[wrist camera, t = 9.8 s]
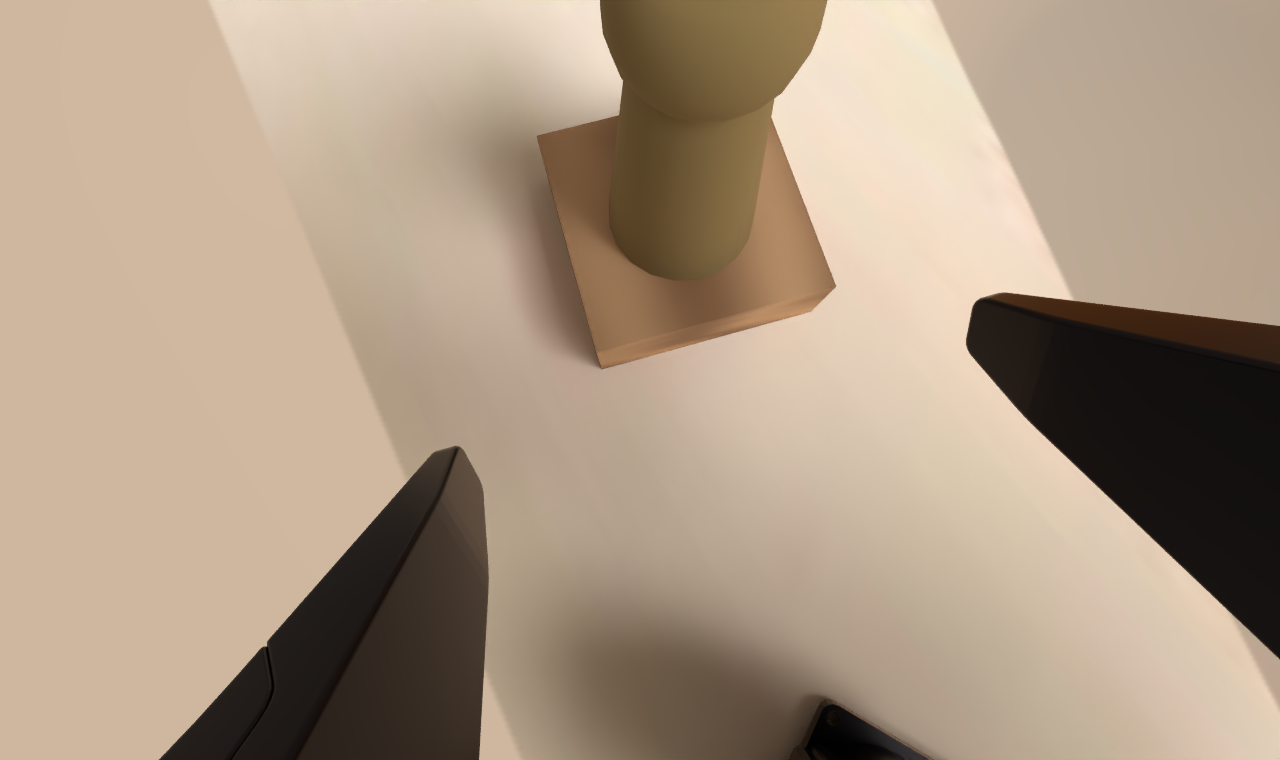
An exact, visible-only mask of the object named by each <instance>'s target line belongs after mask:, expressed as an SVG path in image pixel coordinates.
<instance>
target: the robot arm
mask: <svg viewBox="0 0 1280 760" xmlns="http://www.w3.org/2000/svg"><path fill="white" fill-rule="evenodd" d="M966 346H967V349H968V351H969V353H970V355H971V356H972V357H973V358H974V359H975V361H976V362H977V363H978V364H979V365H980V366H981V367H982V369H983V370H984V371H985V372H986V373H987V374H988V376H989V377H990V378H991V379H992V380H993V381H994V383H995V384H996V385H997V386H998V387H999V388H1000V389H1001V391H1002V392H1003V393H1004V394H1005V395H1006V396H1007V398H1008V399H1009V400H1010V401H1011V402H1012V403H1013V405H1014V406H1015V407H1016V408H1017V409H1018V410H1019V411H1020V412H1021V413H1022V415H1023V416H1024V417H1025V418H1026V419H1027V420H1028V421H1029V422H1030V423H1031V424H1032V425H1033V426H1034V427H1035V428H1036V429H1037V430H1038V431H1039V432H1040V433H1041V434H1043V435H1044V436H1045V437H1046V438H1047V439H1048V440H1049V441H1050V442H1051V443H1052V444H1053V445H1054V446H1055V447H1056V448H1057V449H1058V450H1059V451H1060V452H1062V453H1063V454H1064V455H1065V456H1066V457H1067V458H1068V459H1069V460H1070V461H1071V462H1072V463H1073V464H1074V465H1075V466H1076V467H1077V468H1078V469H1079V470H1080V471H1082V472H1083V473H1084V474H1085V475H1086V476H1087V477H1088V478H1089V479H1090V480H1091V481H1092V482H1093V483H1094V484H1095V485H1096V486H1097V487H1098V488H1099V489H1101V490H1102V491H1103V492H1104V493H1105V494H1106V495H1107V496H1108V497H1109V498H1110V499H1111V500H1112V501H1113V502H1114V503H1115V504H1116V505H1117V506H1118V507H1120V508H1121V509H1122V510H1123V511H1124V512H1125V513H1126V514H1127V515H1128V516H1129V517H1130V518H1131V519H1132V520H1133V521H1134V522H1135V523H1136V524H1137V525H1138V526H1140V527H1141V528H1142V529H1143V530H1144V531H1145V532H1146V533H1147V534H1148V535H1149V536H1150V537H1151V538H1152V539H1153V540H1154V541H1155V542H1156V543H1157V544H1159V545H1160V546H1161V547H1162V548H1163V549H1164V550H1165V551H1166V552H1167V553H1168V554H1169V555H1170V556H1171V557H1172V558H1173V559H1174V560H1175V561H1176V562H1177V563H1179V564H1180V565H1181V566H1182V567H1183V568H1184V569H1185V570H1186V571H1187V572H1188V573H1189V574H1190V575H1191V576H1192V577H1193V578H1194V579H1195V580H1196V581H1198V582H1199V583H1200V584H1201V585H1202V586H1203V587H1204V588H1205V589H1206V590H1207V591H1208V592H1209V593H1210V594H1211V595H1212V596H1213V597H1214V598H1215V599H1217V600H1218V601H1219V602H1220V603H1221V604H1222V605H1223V606H1224V607H1225V608H1226V609H1227V610H1228V611H1229V612H1230V613H1231V614H1232V615H1233V616H1234V617H1235V618H1237V619H1238V620H1239V621H1240V622H1241V623H1242V624H1243V625H1244V626H1245V627H1246V628H1247V629H1248V630H1249V631H1250V632H1251V633H1252V634H1253V635H1254V636H1256V637H1257V638H1258V639H1259V640H1260V641H1261V642H1262V643H1263V644H1264V645H1265V646H1266V647H1267V648H1268V649H1269V650H1270V651H1272V653H1273V654H1275V655H1276V656H1277V657H1278V658H1279V659H1280V326H1275V325H1267V324H1259V323H1250V322H1242V321H1233V320H1226V319H1217V318H1210V317H1201V316H1193V315H1185V314H1177V313H1169V312H1160V311H1152V310H1144V309H1136V308H1127V307H1120V306H1111V305H1103V304H1095V303H1087V302H1079V301H1070V300H1062V299H1054V298H1046V297H1038V296H1029V295H1021V294H1013V293H997V294H994V295H990V296H987V297H983V298H980V299H979V300H977V301H976V302H975V304H974V305H973V308H972V312H971V317H970V322H969V327H968V332H967V337H966ZM488 583H489V573H488V554H487V539H486V524H485V509H484V495H483V488H482V485H481V482H480V480H479V478H478V476H477V474H476V472H475V470H474V468H473V467H472V465H471V463H470V461H469V459H468V457H467V455H466V454H465V452H464V450H463V449H462V448H461V447H458V446H454V447H450V448H446V449H443V450H439V451H436V452H434V453H433V454H432V455H431V456H430V457H429V458H428V459H427V460H426V461H425V462H424V464H423V465H422V466H421V467H420V468H419V469H418V470H417V472H416V473H415V474H414V475H413V476H412V477H411V478H410V480H409V481H408V482H407V483H406V484H405V485H404V486H403V488H402V489H401V490H400V491H399V492H398V493H397V494H396V495H395V497H394V498H393V499H392V500H391V501H390V502H389V504H388V505H387V506H386V507H385V508H384V509H383V510H382V511H381V513H380V514H379V515H378V516H377V517H376V518H375V519H374V521H373V522H372V523H371V524H370V525H369V526H368V528H367V529H366V530H365V531H364V532H363V533H362V534H361V535H360V536H359V538H358V539H357V540H356V541H355V542H354V543H353V544H352V546H351V547H350V548H349V549H348V550H347V551H346V553H345V554H344V555H343V556H342V557H341V558H340V559H339V560H338V561H337V563H336V564H335V565H334V566H333V567H332V568H331V570H330V571H329V572H328V573H327V574H326V575H325V576H324V577H323V579H322V580H321V581H320V582H319V583H318V584H317V586H315V588H314V589H313V590H312V591H311V592H310V593H309V595H308V596H307V597H306V598H305V599H304V600H303V602H301V604H300V605H299V606H298V607H297V608H296V609H295V610H294V612H293V613H292V614H291V615H290V616H289V617H288V618H287V619H286V621H285V622H284V623H283V624H282V625H281V626H280V627H279V629H278V630H277V631H276V632H275V633H274V634H273V635H272V637H271V638H270V639H269V640H268V642H267V647H262V648H261V649H260V650H259V651H258V652H257V653H256V655H255V656H254V657H253V658H252V659H251V660H250V661H249V663H248V664H247V665H246V666H245V667H244V668H243V669H242V670H241V672H240V673H239V674H238V675H237V676H236V677H235V678H234V680H233V681H232V682H231V683H230V684H229V685H228V686H227V687H226V688H225V690H224V691H223V692H222V693H221V694H220V695H219V696H218V697H217V699H215V700H214V702H213V703H212V704H211V705H210V706H209V707H208V708H207V709H206V710H205V712H204V713H203V714H202V715H201V716H200V717H199V718H198V719H197V720H196V722H195V723H194V724H193V725H192V726H191V727H190V728H189V729H188V730H187V731H186V732H185V733H184V734H183V735H182V736H181V737H180V738H179V739H178V740H177V742H176V743H175V744H174V745H173V746H172V747H171V748H170V749H169V750H168V751H167V752H166V753H165V754H164V755H163V756H162V757H161V758H160V759H159V760H479V750H480V732H481V714H482V695H483V678H484V660H485V642H486V624H487V605H488ZM831 711H835V712H836V717H835V719H834V720H832V721H828V720H827V715H828V713H829V712H831ZM789 760H933V759H931V758H930V757H928V756H926V755H925V754H923V753H921V752H920V751H918V750H916V749H914V748H913V747H911V746H909V745H908V744H906V743H904V742H903V741H901V740H899V739H898V738H896V737H894V736H893V735H891V734H889V733H887V732H886V731H884V730H882V729H881V728H879V727H877V726H876V725H874V724H872V723H871V722H869V721H867V720H866V719H864V718H862V717H860V716H859V715H857V714H855V713H854V712H852V711H850V710H849V709H847V708H845V707H844V706H842V705H840V704H839V703H837V702H835V701H833V700H824V701H823V702H821V703H820V705H819V706H818V708H817V710H816V712H815V715H814V717H813V719H812V722H811V724H810V726H809V728H808V731H807V733H806V735H805V737H804V740H803V742H802V744H801V745H800V746H798V747H796V748H794V750H793V752H792V754H791V756H790V759H789Z"/></svg>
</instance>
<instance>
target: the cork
mask: <svg viewBox="0 0 1280 760" xmlns="http://www.w3.org/2000/svg"><path fill="white" fill-rule="evenodd" d="M826 4H827V0H600V10H601V20H602V29H603V35H604V37H605V40H606V43H607V45H608V48H609V50H610V53H611V55H612V58H613V60H614V62H615V65H616V67H617V69H618V72H619V74H620V76H621V78H622V80H623V87H622V96H621V104H620V113H619V121H618V130H617V139H616V147H615V156H614V165H613V173H612V182H611V191H610V199H609V225H610V229H611V231H612V234H613V236H614V239H615V241H616V244H617V246H618V247H619V248H620V250H621V251H622V252H623V253H624V254H625V255H626V257H627V258H628V259H629V260H630V261H631V262H632V263H633V264H635V265H636V266H638V267H640V268H641V269H643V270H644V271H646V272H648V273H649V274H651V275H654V276H658V277H662V278H666V279H670V280H695V279H700V278H702V277H705V276H708V275H711V274H714V273H716V272H719V271H720V270H722V269H723V268H724V267H726V266H727V265H728V264H729V263H731V262H732V261H733V260H735V259H736V258H737V257H738V255H739V254H740V252H741V251H742V249H743V248H744V246H745V245H746V243H747V242H748V240H749V236H750V232H751V228H752V224H753V220H754V214H755V208H756V203H757V197H758V191H759V185H760V179H761V173H762V167H763V162H764V156H765V150H766V144H767V138H768V132H769V127H770V121H771V115H772V109H773V103H774V98H775V97H777V96H778V95H780V94H781V93H782V92H783V91H784V89H785V88H786V87H787V85H788V84H789V83H790V81H791V80H792V79H793V77H794V76H795V74H796V73H797V72H798V70H799V69H800V67H801V66H802V64H803V63H804V61H805V60H806V59H807V57H808V56H809V54H810V53H811V51H812V49H813V46H814V44H815V41H816V39H817V36H818V34H819V32H820V29H821V24H822V20H823V16H824V12H825V8H826Z"/></svg>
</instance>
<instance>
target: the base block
mask: <svg viewBox="0 0 1280 760" xmlns="http://www.w3.org/2000/svg"><path fill="white" fill-rule="evenodd" d="M618 121H619V116H615V117H611V118H607V119H603V120H599V121H595V122H591V123H587V124H583V125H579V126H575V127H571V128H567V129H563V130H559V131H555V132H551V133H547V134H543V135H539V136H537V139H538V142H539V146H540V150H541V153H542V157H543V161H544V164H545V168H546V172H547V175H548V179H549V182H550V186H551V190H552V193H553V197H554V201H555V204H556V208H557V212H558V215H559V219H560V222H561V226H562V230H563V233H564V237H565V241H566V244H567V248H568V252H569V255H570V259H571V262H572V266H573V270H574V273H575V277H576V281H577V284H578V288H579V292H580V295H581V299H582V302H583V306H584V310H585V313H586V317H587V321H588V324H589V328H590V332H591V335H592V339H593V342H594V346H595V350H596V353H597V356H598V359H599V362H600V364H601V367H602V369H604V368H608V367H612V366H615V365H619V364H623V363H626V362H630V361H633V360H637V359H641V358H644V357H648V356H651V355H655V354H659V353H662V352H666V351H670V350H673V349H677V348H680V347H684V346H688V345H691V344H695V343H698V342H702V341H706V340H709V339H713V338H717V337H720V336H724V335H727V334H731V333H735V332H738V331H742V330H745V329H749V328H753V327H756V326H760V325H764V324H767V323H771V322H774V321H778V320H782V319H785V318H789V317H792V316H796V315H800V314H803V313H807V312H810V311H812V310H813V309H814V308H815V307H816V306H817V305H818V304H819V303H820V302H821V301H822V300H823V299H824V298H825V297H826V296H827V295H828V294H829V293H830V292H831V291H832V290H833V289H834V288H835V287H836V285H835V282H834V280H833V277H832V274H831V272H830V269H829V267H828V264H827V261H826V259H825V256H824V254H823V251H822V248H821V246H820V243H819V241H818V238H817V235H816V233H815V230H814V228H813V225H812V222H811V220H810V217H809V215H808V212H807V209H806V207H805V204H804V202H803V199H802V196H801V194H800V191H799V189H798V186H797V183H796V181H795V178H794V176H793V173H792V170H791V168H790V165H789V163H788V160H787V157H786V155H785V152H784V149H783V147H782V144H781V142H780V139H779V136H778V134H777V131H776V129H775V126H774V123H773V121H772V118H771V121H770V127H769V132H768V138H767V144H766V150H765V156H764V162H763V167H762V173H761V179H760V185H759V191H758V197H757V203H756V208H755V214H754V220H753V224H752V228H751V232H750V236H749V240H748V242H747V243H746V245H745V246H744V248H743V249H742V251H741V252H740V254H739V255H738V257H737V258H736V259H735V260H733V261H732V262H731V263H729V264H728V265H727V266H726V267H724V268H723V269H722V270H720V271H719V272H716V273H714V274H711V275H708V276H705V277H702V278H700V279H695V280H670V279H666V278H662V277H658V276H654V275H651V274H649V273H648V272H646V271H644V270H643V269H641V268H640V267H638V266H636V265H635V264H633V263H632V262H631V261H630V260H629V259H628V258H627V257H626V255H625V254H624V253H623V252H622V251H621V250H620V248H619V247H618V246H617V244H616V241H615V239H614V236H613V234H612V231H611V229H610V225H609V199H610V191H611V182H612V173H613V165H614V156H615V147H616V139H617V130H618Z"/></svg>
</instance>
